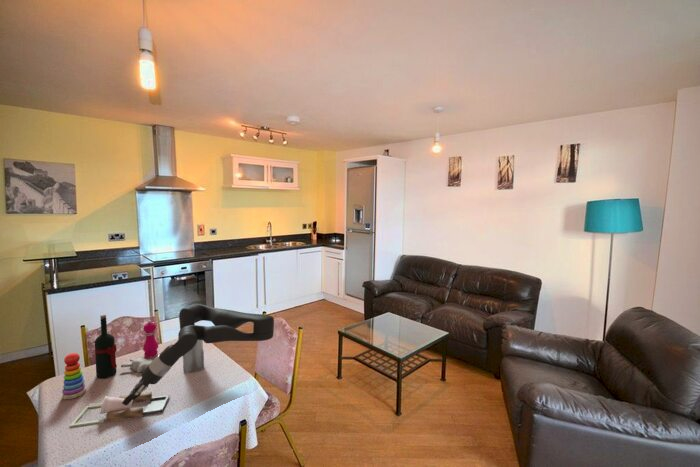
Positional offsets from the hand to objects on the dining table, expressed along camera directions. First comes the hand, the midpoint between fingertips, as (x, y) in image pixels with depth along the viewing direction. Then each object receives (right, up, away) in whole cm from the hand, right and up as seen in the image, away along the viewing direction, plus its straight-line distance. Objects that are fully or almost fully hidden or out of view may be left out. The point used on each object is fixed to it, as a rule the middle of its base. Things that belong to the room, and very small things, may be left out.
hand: (124, 403), depth 125 cm
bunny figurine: (-17, -2, +35) cm, 39 cm away
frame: (-12, -5, +1) cm, 13 cm away
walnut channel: (0, -5, +4) cm, 6 cm away
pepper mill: (-21, 0, +50) cm, 54 cm away
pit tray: (+9, -5, +6) cm, 12 cm away
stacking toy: (-32, -3, +13) cm, 34 cm away
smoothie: (0, -2, +3) cm, 4 cm away
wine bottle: (-29, -2, +29) cm, 41 cm away
